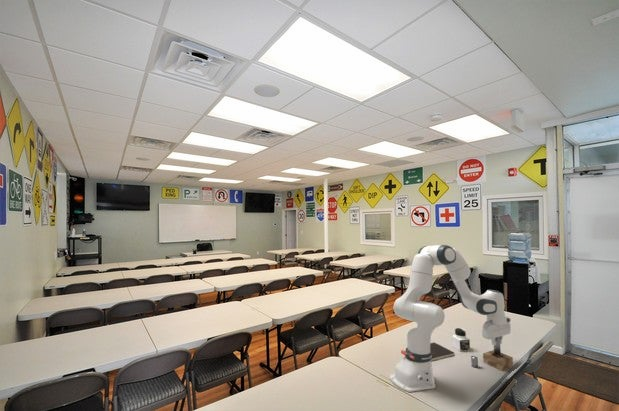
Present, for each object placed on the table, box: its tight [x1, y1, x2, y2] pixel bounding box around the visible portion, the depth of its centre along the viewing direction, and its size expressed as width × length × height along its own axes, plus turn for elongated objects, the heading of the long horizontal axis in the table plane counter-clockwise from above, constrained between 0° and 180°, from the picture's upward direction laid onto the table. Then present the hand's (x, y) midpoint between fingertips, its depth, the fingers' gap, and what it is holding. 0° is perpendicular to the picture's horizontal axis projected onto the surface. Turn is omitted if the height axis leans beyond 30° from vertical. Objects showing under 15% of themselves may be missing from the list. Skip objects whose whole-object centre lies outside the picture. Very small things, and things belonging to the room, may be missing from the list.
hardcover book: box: [405, 342, 455, 362], centre depth 167 cm, size 16×23×2 cm
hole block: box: [482, 349, 514, 372], centre depth 154 cm, size 10×10×5 cm
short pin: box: [470, 355, 479, 369], centre depth 151 cm, size 3×3×5 cm
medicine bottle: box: [451, 327, 471, 352], centre depth 173 cm, size 7×7×12 cm
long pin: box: [493, 337, 502, 355], centre depth 154 cm, size 3×3×10 cm
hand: (496, 344), depth 154 cm, fingers closed on long pin, 3 cm apart
